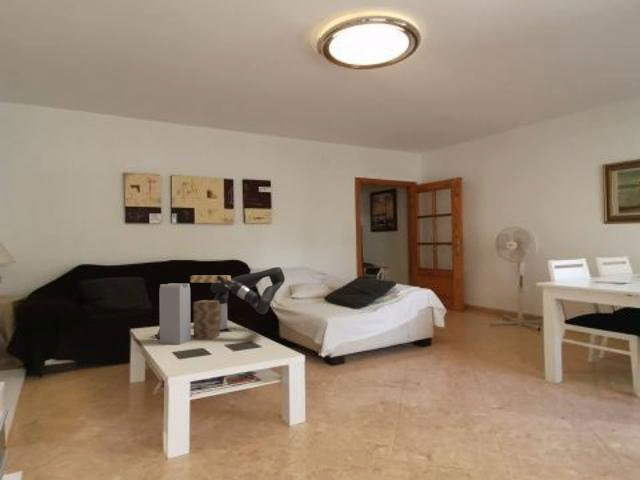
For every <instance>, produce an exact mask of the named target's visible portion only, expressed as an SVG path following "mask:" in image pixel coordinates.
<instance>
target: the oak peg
mask: <svg viewBox="0 0 640 480" xmlns="http://www.w3.org/2000/svg"><path fill="white" fill-rule="evenodd" d="M218 276H219V275H190V283H208V284H209V283H211V284H212V283H221V281H220V280H218V279H217V277H218ZM220 276H221V277H222V278H224V279H225V280H229V281H230V279H231V278H232V276H231V275H224V276H222V275H220ZM227 283H228V281H227Z"/></svg>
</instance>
